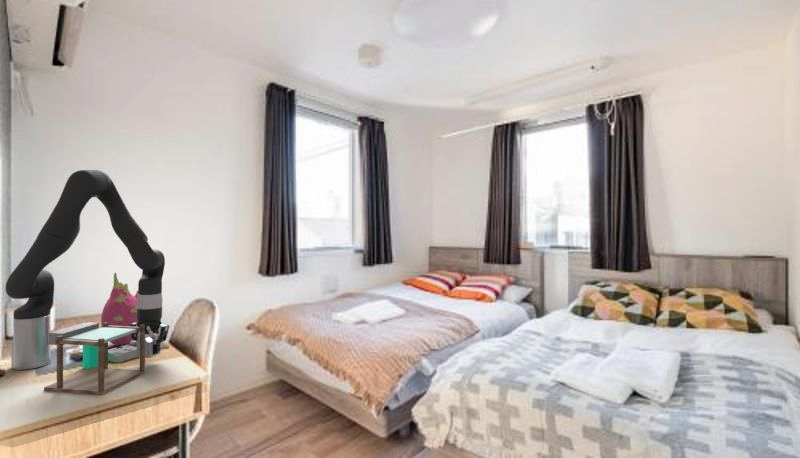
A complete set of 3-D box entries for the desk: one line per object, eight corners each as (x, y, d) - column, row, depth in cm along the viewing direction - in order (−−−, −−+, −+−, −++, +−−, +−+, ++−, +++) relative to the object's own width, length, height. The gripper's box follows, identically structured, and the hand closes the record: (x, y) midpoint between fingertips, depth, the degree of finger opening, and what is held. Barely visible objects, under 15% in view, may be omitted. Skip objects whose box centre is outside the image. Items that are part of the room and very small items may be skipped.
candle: (92, 369, 127) (92, 335, 127) (78, 368, 128) (78, 333, 128) (109, 363, 133) (109, 330, 133) (95, 361, 134) (95, 328, 134)
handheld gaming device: (102, 360, 137) (102, 350, 137) (144, 348, 150) (144, 339, 150) (116, 365, 133) (116, 354, 133) (158, 352, 146) (158, 342, 146)
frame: (44, 390, 112) (44, 335, 111) (94, 369, 127) (94, 321, 127) (101, 395, 109) (101, 339, 109) (145, 373, 125) (145, 324, 125)
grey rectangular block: (136, 356, 131) (136, 341, 131) (147, 352, 136) (148, 337, 136) (149, 358, 130) (149, 342, 130) (160, 353, 135) (160, 338, 135)
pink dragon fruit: (140, 348, 148) (140, 273, 148) (96, 354, 142) (97, 275, 141) (144, 336, 164) (144, 268, 163) (105, 341, 157) (105, 270, 156)
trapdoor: (48, 344, 113) (48, 332, 113) (86, 332, 125) (86, 322, 125) (103, 348, 111) (103, 336, 111) (136, 335, 123) (136, 325, 123)
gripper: (122, 306, 130) (121, 355, 130) (160, 309, 128) (159, 358, 128) (139, 302, 137) (138, 348, 137) (175, 304, 135) (174, 351, 136)
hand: (148, 352), depth 133 cm, fingers closed on grey rectangular block, 5 cm apart
